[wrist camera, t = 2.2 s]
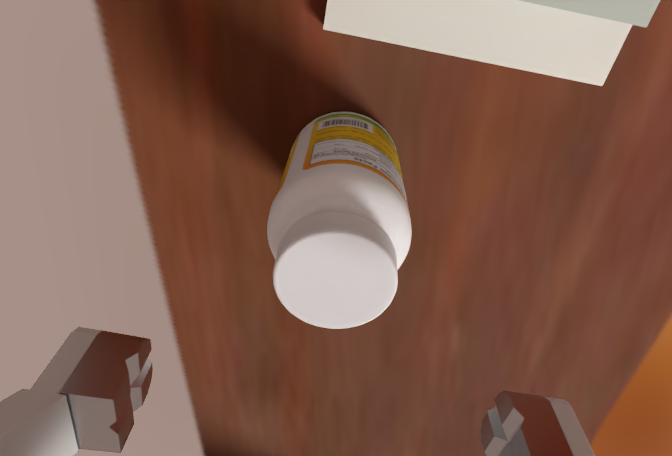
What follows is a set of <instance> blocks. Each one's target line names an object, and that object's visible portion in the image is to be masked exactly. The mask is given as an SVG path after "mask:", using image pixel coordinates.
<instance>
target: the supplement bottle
mask: <svg viewBox="0 0 672 456" xmlns="http://www.w3.org/2000/svg"><path fill="white" fill-rule="evenodd" d="M411 234H412V231H411V220H410V214H409V209H408V204H407V199H406V194H405V189H404V184H403V179H402V174H401V168H400V163H399V158H398V154H397V150H396V147H395V145H394V143H393V141H392V139H391V137H390V135H389V134H388V133H387V131H386V130H385V129H384V128H383V127H382V126H381V125H380V124H378V123H377V122H376V121H374V120H373V119H371V118H369V117H367V116H364V115H361V114H358V113H354V112H333V113H329V114H325V115H323V116H320V117H318V118H316V119H315V120H313V121H312V122H310V123H309V124H308V125H307V126H306V127H304V128H303V130H302V131H301V132H300V133H299V135H298V136H297V138H296V140H295V142H294V144H293V146H292V149H291V151H290V154H289V158H288V161H287V163H286V166H285V169H284V172H283V175H282V178H281V181H280V183H279V186H278V189H277V192H276V194H275V197H274V200H273V203H272V206H271V210H270V214H269V218H268V225H267V236H268V242H269V246H270V249H271V252H272V254H273V256H274V258H275V260H276V261H275V265H274V269H273V284H274V288H275V291H276V294H277V296H278V298H279V300H280V301H281V303H282V304H283V305H284V306H285V308H286V309H287V310H288V311H289V312H290V313H292V314H293V315H294V316H296V317H297V318H299V319H300V320H302V321H304V322H307V323H309V324H312V325H315V326H319V327H324V328H331V329H342V328H350V327H355V326H359V325H362V324H365V323H367V322H369V321H371V320H373V319H374V318H376V317H377V316H379V315H380V314H381V313H382V312H384V310H385V309H386V308H387V307H388V306H389V305H390V303H391V302H392V300H393V298H394V295H395V293H396V289H397V284H398V275H397V270H398V269H399V267H400V266H401V264H402V263H403V261H404V259H405V258H406V255H407V253H408V250H409V247H410V243H411Z"/></svg>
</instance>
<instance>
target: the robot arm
mask: <svg viewBox="0 0 672 456" xmlns="http://www.w3.org/2000/svg"><path fill="white" fill-rule="evenodd" d="M150 351H151V342H150V339H147V338H141V337H136V336H130V335H124V334H118V333H112V332H107V331H101V330H94V329H88V328H81V327H78V328H77V329H75V330H74V331H73V332H71V334H70V335H69V337H68V338H67V339H66V341H65V342H64V344H63V345H62V346H61V348H60V349H59V350H58V352H57V353H56V355H55V356H54V357H53V359H52V360H51V362H50V363H49V364H48V366H47V367H46V369H45V370H44V371H43V373H42V374H41V375H40V377H39V378H38V380H37V381H36V383H35V384H34V385H33V387H32V388H31V389H30V390H27V389H22V390H20V391H18V392H17V393H15V394H13V395H11V396H10V397H8V398H6V399H4V400H3V401H1V402H0V456H74V455H75V454H76V453H77V452H78V451H79V450H78V449H88V450H98V451H109V452H118V453H121V451H122V449H123V446H124V444H125V442H126V440H127V438H128V435H129V433H130V431H131V429H132V427H133V425H134V419H133V411H135V410H136V409H138V408H139V407H140V406H141V405H143V402H144V400H145V398H146V395H147V393H148V389H149V386H150V382H151V377H152V362H151V361H150V360H149V359H148V358H147V357H148V355H149V353H150ZM495 404H496V407H495V408H493V409H491V410H489V411H487V413H486V415H485V417H484V418H483V420H482V427H481V439H482V445H483V449H484V452H485V453H486V455H487V456H595V455H594V452H593V450H592V448H591V446H590V444H589V442H588V440H587V438H586V436H585V434H584V432H583V430H582V428H581V425H580V423H579V421H578V419H577V417H576V415H575V413H574V411H573V409H572V407H571V405H570V404H569V403H568V402H567V401H566V400H563V399H556V398H550V397H543V396H539V395H531V394H524V393H517V392H509V391H502V392H500V393H499V394H498V395H497V397H496V398H495Z"/></svg>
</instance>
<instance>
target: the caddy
mask: <svg viewBox="0 0 672 456" xmlns="http://www.w3.org/2000/svg"><path fill="white" fill-rule="evenodd" d="M659 2H660V0H327V7H326V13H325V20H324V26H323V29H324V30H329V31H334V32H339V33H344V34H349V35H353V36H358V37H363V38H368V39H373V40H378V41H383V42H388V43H393V44H398V45H402V46H407V47H412V48H417V49H422V50H427V51H432V52H437V53H442V54H447V55H452V56H456V57H461V58H466V59H471V60H476V61H481V62H486V63H491V64H496V65H501V66H505V67H510V68H515V69H520V70H525V71H530V72H535V73H540V74H545V75H550V76H554V77H559V78H564V79H569V80H574V81H579V82H584V83H589V84H594V85H599V86H603V84H604V82H605V80H606V78H607V76H608V74H609V72H610V70H611V68H612V66H613V64H614V61H615V59H616V57H617V55H618V53H619V51H620V49H621V47H622V45H623V43H624V41H625V39H626V37H627V35H628V33H629V31H630V29H631V27H632V25H637V26H641V27H647V25H648V24H649V22H650V20H651V18H652V16H653V14H654V12H655V10H656V8H657V6H658V4H659Z"/></svg>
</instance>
